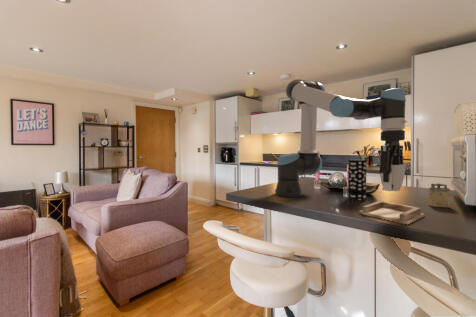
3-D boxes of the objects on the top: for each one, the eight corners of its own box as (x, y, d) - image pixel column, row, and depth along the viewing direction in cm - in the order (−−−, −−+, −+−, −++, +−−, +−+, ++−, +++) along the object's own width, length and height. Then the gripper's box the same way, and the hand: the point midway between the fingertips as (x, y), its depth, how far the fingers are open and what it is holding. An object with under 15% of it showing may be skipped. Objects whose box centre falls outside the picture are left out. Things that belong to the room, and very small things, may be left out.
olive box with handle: (447, 206, 94) (448, 183, 93) (451, 208, 90) (452, 185, 90) (427, 204, 97) (427, 182, 96) (430, 206, 93) (431, 184, 93)
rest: (359, 213, 85) (359, 206, 85) (378, 206, 94) (378, 200, 94) (407, 225, 72) (407, 216, 72) (424, 216, 81) (424, 208, 81)
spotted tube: (368, 200, 106) (369, 160, 105) (350, 199, 108) (351, 160, 107) (362, 196, 114) (363, 159, 113) (345, 196, 116) (346, 159, 115)
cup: (374, 188, 87) (374, 163, 86) (395, 187, 86) (395, 163, 86) (388, 192, 79) (388, 165, 78) (410, 191, 78) (411, 164, 78)
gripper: (392, 128, 73) (391, 194, 74) (414, 130, 84) (413, 187, 85) (368, 130, 79) (368, 191, 80) (392, 131, 90) (392, 185, 91)
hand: (391, 189), depth 82 cm, fingers closed on cup, 8 cm apart
